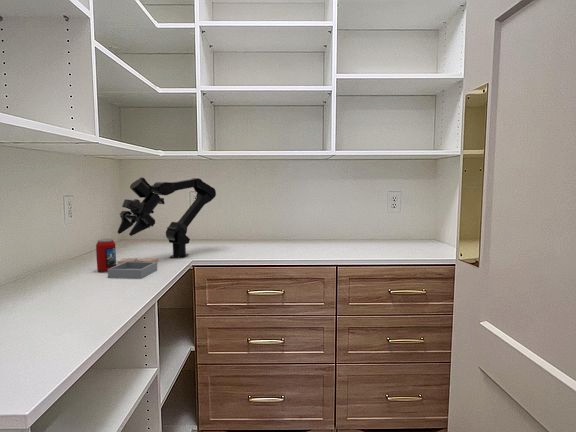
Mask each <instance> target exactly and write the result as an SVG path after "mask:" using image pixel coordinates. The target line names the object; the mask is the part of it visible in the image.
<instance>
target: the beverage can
mask: <svg viewBox="0 0 576 432" xmlns="http://www.w3.org/2000/svg"><path fill="white" fill-rule="evenodd" d="M95 253H96V267H97V268H96V269H97V271H99V272H101V273H108V269H110V268H112V267H114V266H117V251H116V242H115V241H114V239H113V238H103V239H101V238H100V239H98V240H97V242H96V244H95Z"/></svg>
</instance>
